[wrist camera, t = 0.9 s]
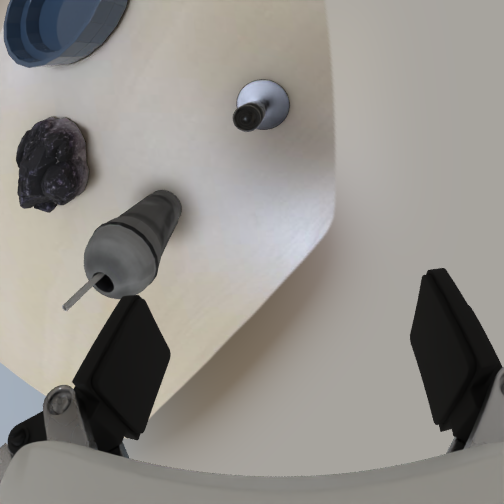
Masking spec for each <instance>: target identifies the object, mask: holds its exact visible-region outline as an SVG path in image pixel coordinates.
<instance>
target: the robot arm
mask: <svg viewBox="0 0 504 504" xmlns="http://www.w3.org/2000/svg"><path fill="white" fill-rule="evenodd" d="M410 341H411V345H412V348H413V351H414V354H415V357H416V360H417V363H418V367H419V370H420V373H421V377H422V380H423V383H424V387H425V390H426V394H427V398H428V401H429V405H430V409H431V413H432V417H433V421H434V423H435V424H436V425H438V424H439V427H440V431H441V432H442V431H446V430H449V429H452V432H453V436H454V439H453V441H452V443H451V446H450V447H449V449H448V451H447V453H446V454H444V455H441V456H437V457H433V458H429V459H425V460H421V461H416V462H411V463H407V464H401V465H396V466H391V467H385V468H380V469H373V470H367V471H359V472H352V473H342V474H332V475H318V476H294V477H264V476H241V475H227V474H215V473H206V472H199V471H192V470H184V469H178V468H172V467H167V466H161V465H156V464H151V463H146V462H142V461H138V460H133V459H129V456H128V454H127V452H126V449H125V447H124V444H123V442H122V441H123V438H124V436H125V437H126V438H130V439H134V440H138V439H139V436H140V433H143V432H144V430H145V428H146V425H147V422H148V419H149V416H150V413H151V411H152V408H153V405H154V402H155V399H156V396H157V393H158V391H159V388H160V385H161V382H162V379H163V377H164V374H165V371H166V368H167V366H168V363H169V360H170V350H169V347H168V346H167V344H166V342H165V340H164V338H163V336H162V334H161V332H160V330H159V328H158V326H157V324H156V322H155V320H154V318H153V316H152V314H151V312H150V309H149V307H148V305H147V303H146V301H145V300H144V299H142V298H141V297H140V296H139V295H127V296H123V297H122V298H121V300H120V301H119V303H118V304H117V306H116V308H115V309H114V311H113V312H112V314H111V316H110V317H109V319H108V320H107V322H106V324H105V325H104V327H103V329H102V330H101V332H100V334H99V335H98V337H97V339H96V340H95V342H94V344H93V345H92V347H91V349H90V351H89V352H88V354H87V356H86V358H85V359H84V361H83V363H82V365H81V366H80V368H79V370H78V372H77V374H76V375H75V377H74V379H73V381H72V382H73V383H74V385H75V388H74V389H73V388H71V387H70V386H68V385H60V386H57V387H55V388H54V389H52V390H51V391H50V392H49V393H48V394H47V396H46V398H45V400H44V403H43V411H42V412H40V413H38V414H37V415H35V416H33V417H31V418H29V419H27V420H25V421H24V422H22V423H20V424H18V425H16V426H15V427H14V428H13V429H12V430H11V432H10V434H9V437H8V445H7V444H6V443H5V444H4V445H3V446H2V447H1V448H0V504H504V367H502V365H501V363H500V361H499V359H498V357H497V355H496V353H495V351H494V349H493V347H492V345H491V343H490V341H489V339H488V337H487V335H486V333H485V331H484V330H483V328H482V326H481V324H480V322H479V320H478V319H477V317H476V315H475V313H474V312H473V310H472V308H471V307H470V306H469V305H468V304H467V303H466V301H465V299H464V298H463V296H462V294H461V293H460V291H459V289H458V288H457V286H456V285H455V283H454V282H453V280H452V278H451V277H450V275H449V274H448V273H447V271H446V269H444V268H440V269H433V270H428V271H427V274H426V275H423V277H422V280H421V286H420V291H419V296H418V302H417V306H416V311H415V316H414V320H413V324H412V329H411V334H410Z"/></svg>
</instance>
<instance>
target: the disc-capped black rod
mask: <svg viewBox="0 0 504 504" xmlns="http://www.w3.org/2000/svg"><path fill="white" fill-rule="evenodd" d="M236 106H237V109H236V110H235V112H234V114H233V122H234V125H235V126H236V127H237V128H238V129H239V130H241V131H244V132H250V131H253V130H255V129H260V130H267V129H271V128H274V127H276V126H278V125H280V124H281V123H282V122H283V121H284V120H285V118H286V117H287V115H288V112H289V107H290V103H289V98H288V95H287V93H286V91H285V90H284V89H283V88H282V87H281V86H280V85H279V84H277V83H275V82H273V81H270V80H256V81H253V82H250V83H248V84H247V85H246V86H244V87H243V89H242V90H241V91H240V93H239V95H238V97H237V104H236Z"/></svg>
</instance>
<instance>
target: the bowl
mask: <svg viewBox="0 0 504 504" xmlns="http://www.w3.org/2000/svg"><path fill="white" fill-rule="evenodd" d="M127 1H128V0H10V2H9V5H8V7H7V12H6V16H5V21H4V42H5V45H6V48H7V51H8V54H9V56H10V57H11V58H12V59H13V60H14V61H15V62H16V63H17V64H19V65H22V66H25V67H28V68H32V67H41V66H52V65H63V64H71V63H73V62H75V61H78V60H80V59H82V58H84V57H86V56H88V55H89V54H90V53H91V52H93V51H94V50H95V49H96V48H98V47H99V46H100V45H101V44H102V43H103V42H104V41H105V40H106V39H107V37H108V36H109V35H110V34H111V32H112V31H113V30H114V29H115V27H116V26H117V24H118V22H119V20H120V18H121V16H122V14H123V12H124V11H125V9H126V5H127Z"/></svg>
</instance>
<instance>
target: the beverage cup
mask: <svg viewBox="0 0 504 504" xmlns="http://www.w3.org/2000/svg"><path fill="white" fill-rule="evenodd" d="M180 214H181V204H180V201H179V200H178V198H177V197H176V196H175V195H174V194H173V193H171V192H169V191H166V190H159V191H156V192H154V193H153V194H151V195H149V196H147V197H146V198H144V199H143V200H142V201H140V202H139V203H137V204H136V205H134V206H133V207H132V208H130V209H129V210H127V211H126V212H125V213H123V214H122V215H120V216H119V217H118V218H115V219H112V220H111V221H109V222H107V223H104V224H102V225H101V226H99V227H98V228H97V229H96V230H95V231H94V234H93V235H92V237H91V238H90V240H89V242H88V245H87V247H86V249H85V253H84V269H85V272H86V276H87V278H88V280H89V281H88V282H87V283H86V284H85V285H84V286H83V287H82V288H81V289H80V290H79V291H77V292H76V293H75V294H74V295H73V296H72V297H71V298H70V299H69V300H68V301H67V302H66V303H65V304H64V305H63V306H62V308H63V309H64V310H65V311H67V310H68V309H69V308H70V307H72V306H73V305H74V304H75V303H76V302H77V301H78V300H79V299H80V298H81V297H82V296H83V295H84V294H85V293H86V292H87V291H88V290H89V289H90V288H91V287H92V286H93V287H94V288H95V289H96V290H97V291H98V292H99V293H101V294H102V295H105V296H107V297H109V298H114V299H121V298H122V297H123V296H127V295H136V294H138V293H140V292H142V291H143V290H144V289H145V288H146V287H147V286H148V285H150V284H151V283H152V281H153V280H154V279H155V277H156V276H157V272H158V267H159V263H160V259H161V256H162V254H163V251H164V249H165V247H166V245H167V243H168V241H169V239H170V237H171V235H172V233H173V231H174V228H175V226H176V224H177V222H178V219H179V217H180Z"/></svg>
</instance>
